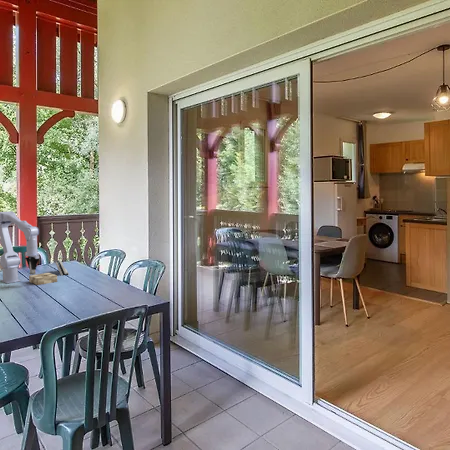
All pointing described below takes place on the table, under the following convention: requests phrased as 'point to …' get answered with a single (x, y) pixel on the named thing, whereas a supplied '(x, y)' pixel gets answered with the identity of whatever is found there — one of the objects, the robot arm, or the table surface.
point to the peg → (31, 269)
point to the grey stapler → (61, 268)
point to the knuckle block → (43, 278)
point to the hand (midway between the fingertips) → (32, 269)
